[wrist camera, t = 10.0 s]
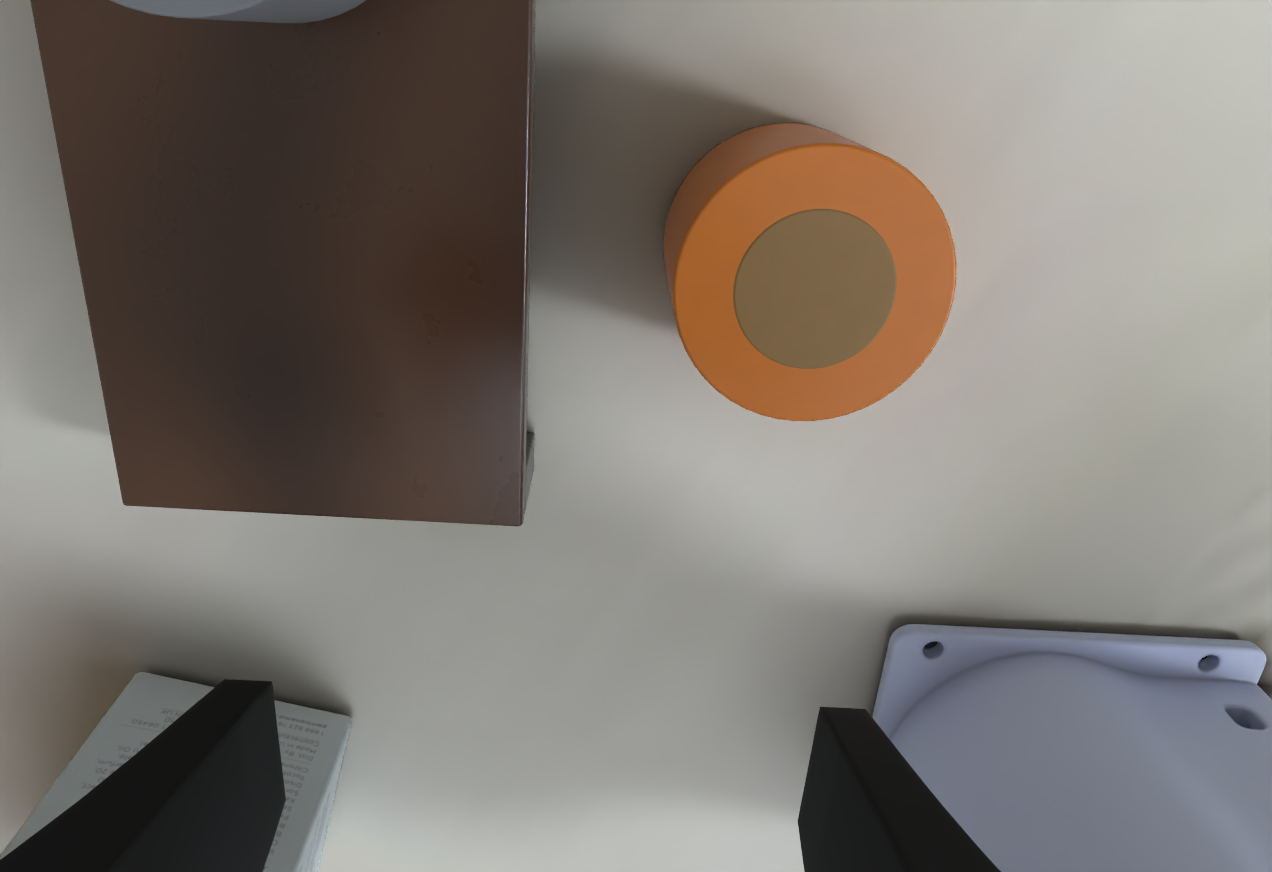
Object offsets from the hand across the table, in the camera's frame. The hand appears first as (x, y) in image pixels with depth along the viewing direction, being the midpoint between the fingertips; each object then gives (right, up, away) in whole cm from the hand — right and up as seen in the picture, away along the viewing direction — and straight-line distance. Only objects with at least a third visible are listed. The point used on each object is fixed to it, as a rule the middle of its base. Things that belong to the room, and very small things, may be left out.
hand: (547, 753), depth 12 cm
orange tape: (+4, +8, +7) cm, 11 cm away
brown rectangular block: (-5, +10, +6) cm, 13 cm away
